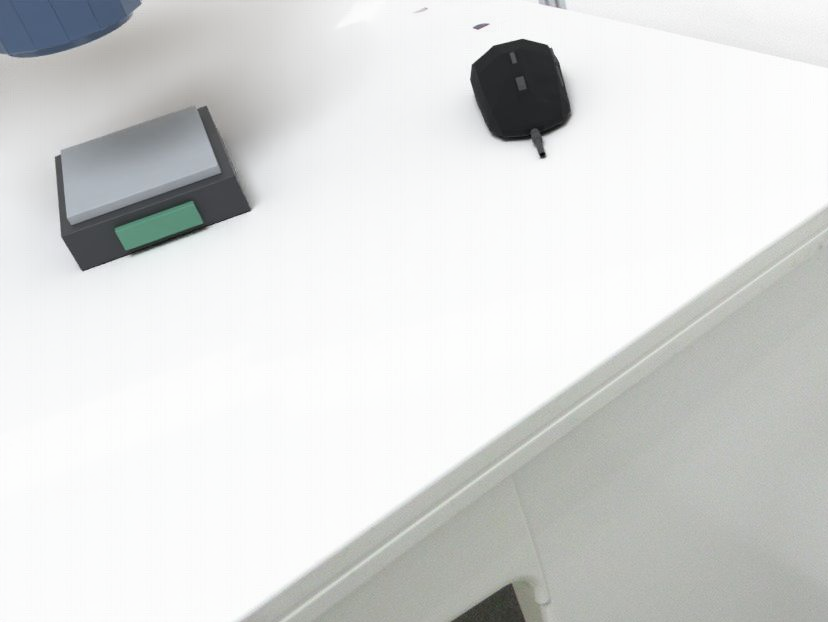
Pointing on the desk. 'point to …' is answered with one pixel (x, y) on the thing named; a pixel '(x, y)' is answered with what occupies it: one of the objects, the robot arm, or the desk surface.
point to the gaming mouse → (520, 90)
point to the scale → (145, 186)
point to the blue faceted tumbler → (58, 24)
